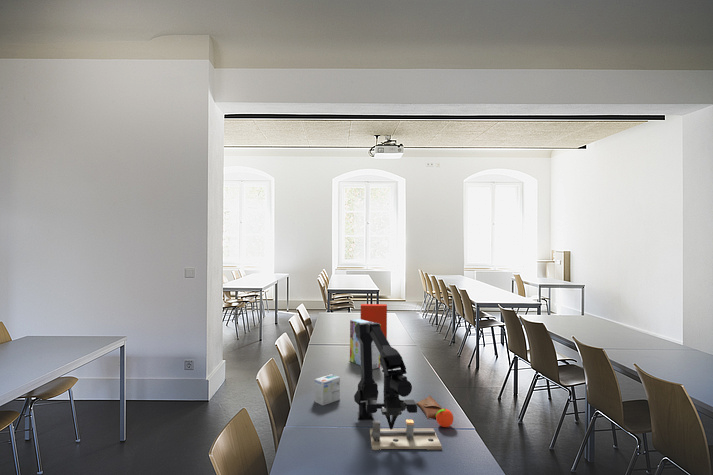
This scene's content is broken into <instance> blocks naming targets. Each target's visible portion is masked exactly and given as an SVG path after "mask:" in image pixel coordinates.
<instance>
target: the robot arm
mask: <svg viewBox="0 0 713 475" xmlns="http://www.w3.org/2000/svg"><path fill="white" fill-rule="evenodd" d="M355 333H356V338H357V339H358V341H359V342H360V352H361V366H360V375H361V378H360V380H359V382H358V384H357V391H356V392H355V394H354V396H353V399H354V402H355V403H356V404H357V405H358V411H357V419H358V420H374V419H375V418H374V417H375V416H374V414H375V413H377V411H378V410H379V409H380V411H381V415H383V416H385V418H386V421H387V424H388V427H389V428H390V430H392V429H393V428H394V425H395V423H396V420H397V418H398V417H399V415H400V416H401V415H402V412H404V411H407V413H410V414H417V413H418V405H417V404H416V403H417V402H416V400H415V399H400V397H404V398H406V397H408V396H410V395H411V393H412V390H413V386H412V383H411V382H410V381H409V380H408V377H407V376H406V375H407V367H406V364H405V362H404V360H403V356H401V354H400V353H399V351H398V350H397V349H396V348H394V347H392V345H391V344H390V342H389V341H388V338H387V339H386V337H385V335H384V333H383V332H382V330H381V326H380V324H379V323H372V322H364V323H358V324H357V326H355ZM373 341H374V343H375V345H376V347H377V349H378V351H379V353H380V367H381V368H382V370H381V372H382V373H383V402H378V399H379V398H378V397H379V390H378V389H379V388H378V386H379V385H378V384H377V382H376V381H375V379H374V376H373V374H374V372H373V369H372V345H371V344H372V342H373Z"/></svg>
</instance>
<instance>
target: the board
mask: <svg viewBox="0 0 713 475" xmlns="http://www.w3.org/2000/svg"><path fill="white" fill-rule="evenodd" d="M369 435H370V436H369V437H370V444H371V450H372V451H382V450H381V449H427V450H442V449H443V446H442V444H441V442H440V440H439V438H438V435H437V433H436V431H435V428H434V427H427V428H426V427H420V428H418V427H415V428H414V436H413V438H412V440H410V439H409V438H407V437H406V427H405V428H403V427H402V428H401V427H400V428H399V427H398V428H395V427H393V429H392V430H390V427H389V428H386V427H385V428H381V421H380V420H378V419H377V420H376V419H375V420H374V419H372V428H369ZM379 449H380V450H379Z"/></svg>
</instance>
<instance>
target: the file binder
mask: <svg viewBox="0 0 713 475" xmlns="http://www.w3.org/2000/svg"><path fill="white" fill-rule="evenodd" d="M360 319H362V320H366V321H369V322H373V323H379V324H381V330H382V332H383V333H384V335H385V337H386V339H387V340H388V336H387V334H388V305H387V304H381V303H376V304H375V303H361V304H360Z"/></svg>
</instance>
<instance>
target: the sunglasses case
mask: <svg viewBox="0 0 713 475" xmlns="http://www.w3.org/2000/svg"><path fill="white" fill-rule="evenodd" d="M416 404H417V407H419V408H420V410H421V411H422V412H423V414H424V413H425V414H424V415H425V417H426V418H427V420H430V419H429V418H436V417H435V416H436V414H437V412H438V411H439V410H440V409H443V407H442V406H441V404H439V403H438V402H437V401H436V400H435V399H434V398H433V397H432V396H431V395H429V396H428V397H425V398H424V399H421V400H419V401H418V402H416Z"/></svg>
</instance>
